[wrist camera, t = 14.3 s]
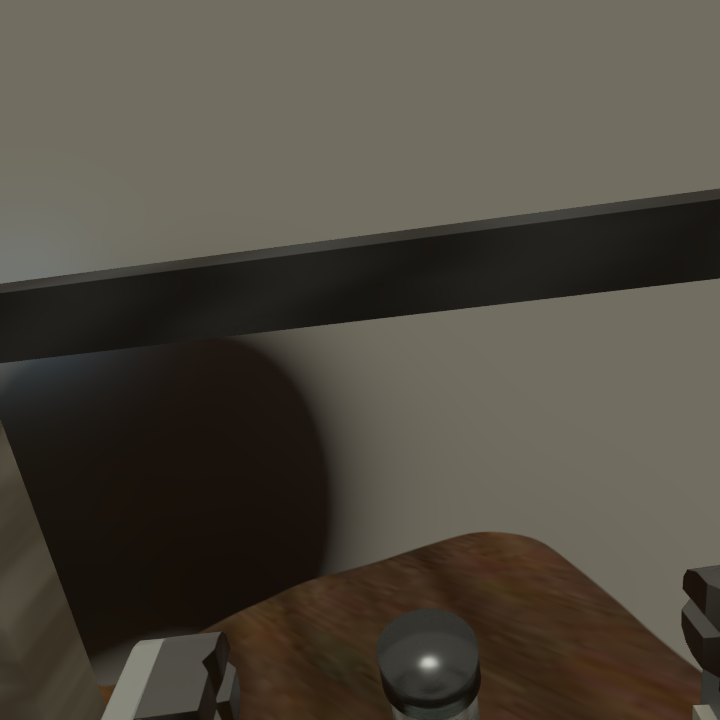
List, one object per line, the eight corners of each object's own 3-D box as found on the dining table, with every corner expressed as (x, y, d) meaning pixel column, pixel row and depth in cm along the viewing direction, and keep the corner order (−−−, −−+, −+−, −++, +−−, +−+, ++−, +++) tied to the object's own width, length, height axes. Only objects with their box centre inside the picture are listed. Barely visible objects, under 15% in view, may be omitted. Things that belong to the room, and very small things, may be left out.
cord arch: (117, 1037, 27) (-222, 323, 16) (143, 955, 30) (-130, 300, 19) (923, 1041, 24) (1207, 137, 13) (867, 948, 27) (1058, 142, 15)
